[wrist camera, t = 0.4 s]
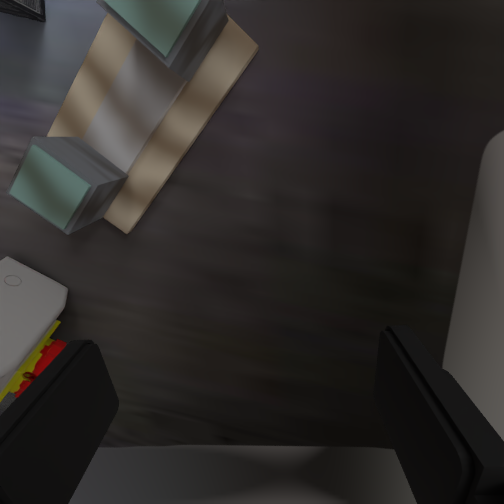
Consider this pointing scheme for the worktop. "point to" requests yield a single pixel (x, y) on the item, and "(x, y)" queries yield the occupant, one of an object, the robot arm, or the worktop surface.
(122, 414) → the worktop surface
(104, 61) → the rail board
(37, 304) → the electrical switch box
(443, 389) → the robot arm
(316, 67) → the worktop surface
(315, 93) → the worktop surface
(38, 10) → the small box
